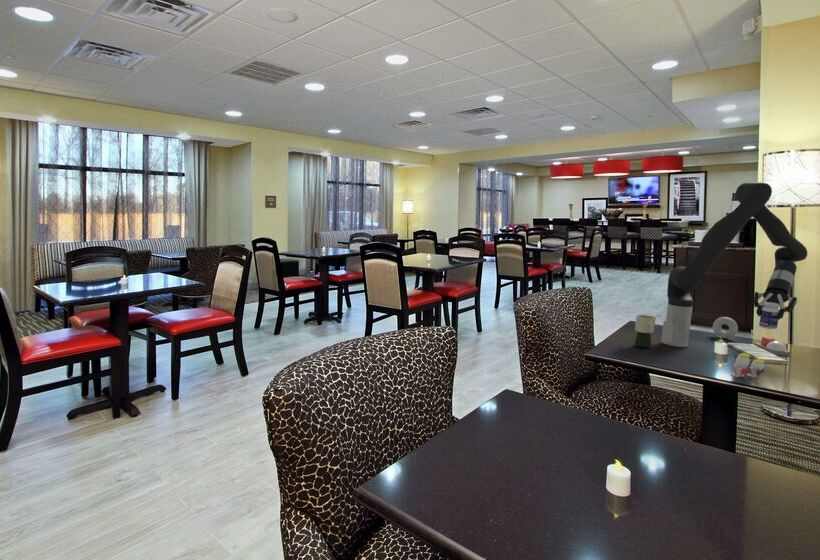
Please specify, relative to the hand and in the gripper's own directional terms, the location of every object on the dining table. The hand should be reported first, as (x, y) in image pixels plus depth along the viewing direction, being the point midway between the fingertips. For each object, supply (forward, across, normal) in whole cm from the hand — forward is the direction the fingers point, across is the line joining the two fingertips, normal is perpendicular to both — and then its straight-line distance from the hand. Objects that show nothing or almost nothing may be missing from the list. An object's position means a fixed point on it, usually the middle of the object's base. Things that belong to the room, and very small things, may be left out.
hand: (768, 316), depth 187 cm
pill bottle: (+2, 0, +5) cm, 5 cm away
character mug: (+30, -36, -5) cm, 47 cm away
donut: (-4, -19, +29) cm, 35 cm away
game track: (+8, -3, +16) cm, 18 cm away
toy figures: (+34, +2, -10) cm, 35 cm away
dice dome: (+1, 0, +26) cm, 26 cm away
